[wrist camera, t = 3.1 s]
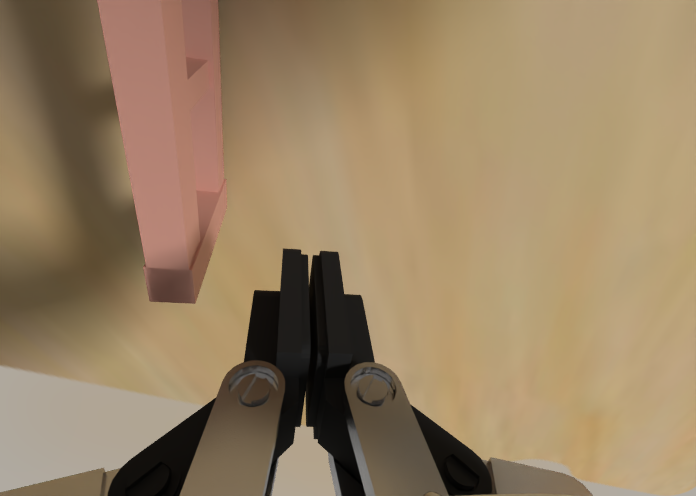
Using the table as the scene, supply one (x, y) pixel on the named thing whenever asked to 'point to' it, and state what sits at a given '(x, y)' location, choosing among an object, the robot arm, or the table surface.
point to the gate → (170, 133)
